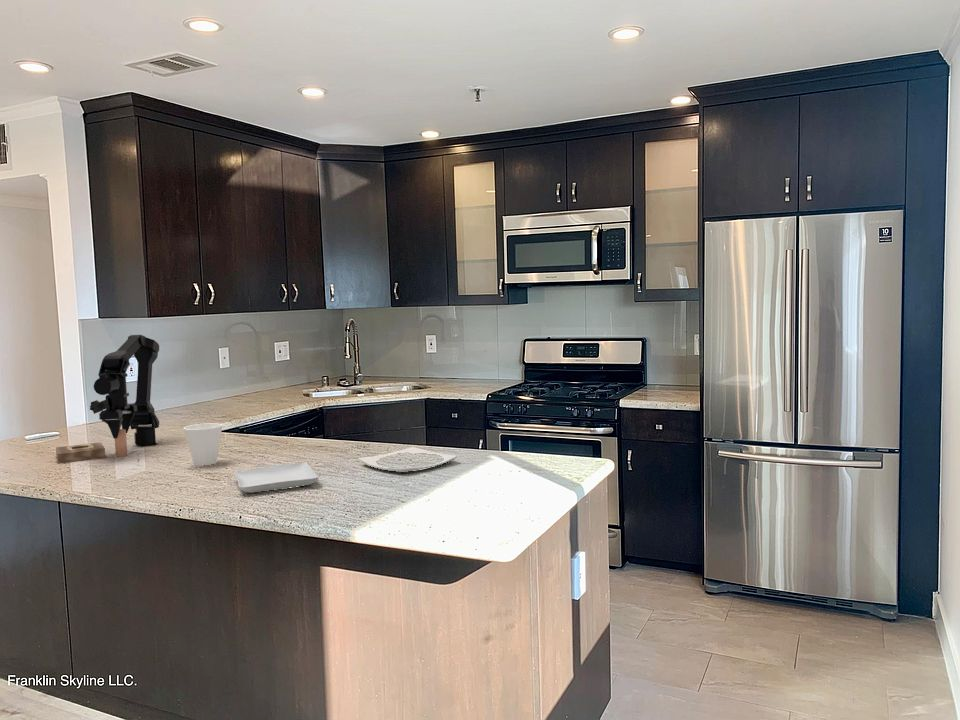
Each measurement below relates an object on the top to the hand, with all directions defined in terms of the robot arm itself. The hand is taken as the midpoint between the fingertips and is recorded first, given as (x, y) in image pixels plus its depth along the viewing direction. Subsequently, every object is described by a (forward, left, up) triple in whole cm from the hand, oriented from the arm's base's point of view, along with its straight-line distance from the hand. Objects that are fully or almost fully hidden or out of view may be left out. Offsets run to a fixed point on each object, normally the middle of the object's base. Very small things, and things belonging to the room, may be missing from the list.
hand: (120, 435), depth 246 cm
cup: (-21, +33, -7) cm, 40 cm away
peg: (0, 0, -7) cm, 7 cm away
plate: (-73, +75, -8) cm, 105 cm away
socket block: (+12, -7, -7) cm, 15 cm away
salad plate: (-32, +73, -8) cm, 80 cm away
